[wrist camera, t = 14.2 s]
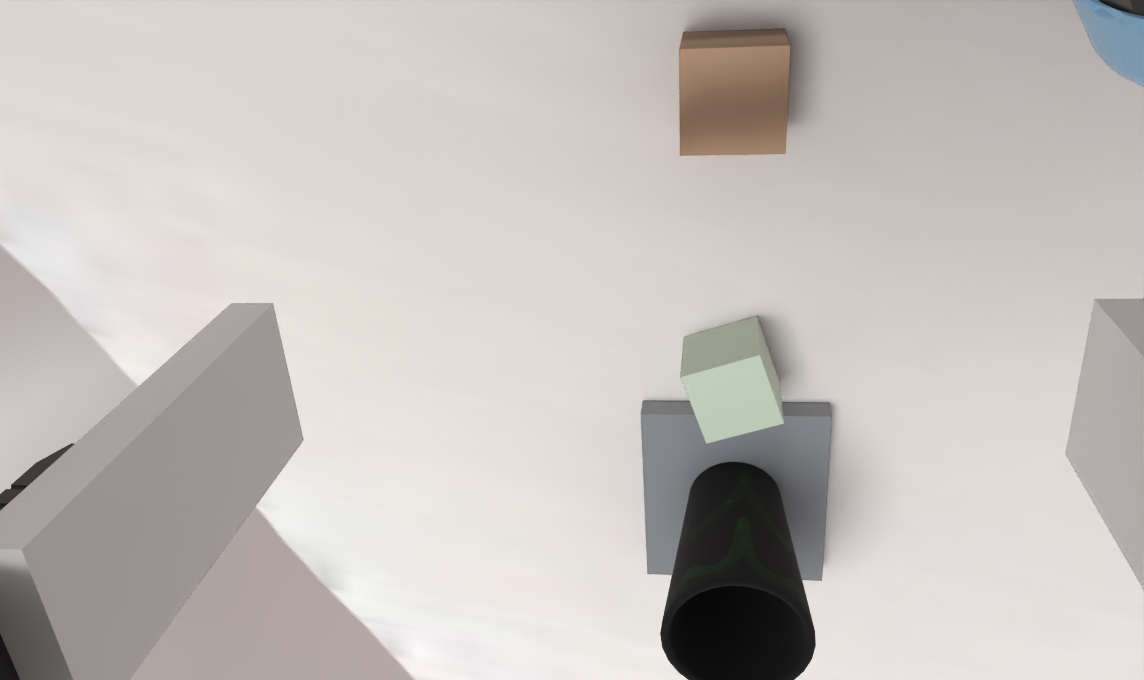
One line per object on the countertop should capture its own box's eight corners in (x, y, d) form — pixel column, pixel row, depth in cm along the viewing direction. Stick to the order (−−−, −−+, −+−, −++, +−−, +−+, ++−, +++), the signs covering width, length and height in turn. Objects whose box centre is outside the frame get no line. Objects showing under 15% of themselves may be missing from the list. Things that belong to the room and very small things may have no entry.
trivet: (642, 400, 58) (640, 414, 57) (828, 402, 57) (831, 416, 55) (649, 558, 63) (647, 573, 62) (819, 564, 62) (821, 580, 60)
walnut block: (683, 31, 49) (679, 49, 44) (784, 28, 48) (790, 45, 43) (683, 129, 51) (679, 155, 46) (780, 127, 50) (785, 153, 46)
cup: (725, 569, 61) (726, 718, 50) (646, 490, 59) (629, 628, 49) (824, 508, 58) (847, 653, 47) (744, 424, 56) (749, 555, 46)
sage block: (683, 336, 56) (680, 377, 52) (756, 315, 55) (759, 355, 50) (707, 398, 58) (706, 443, 53) (779, 379, 56) (783, 423, 52)
